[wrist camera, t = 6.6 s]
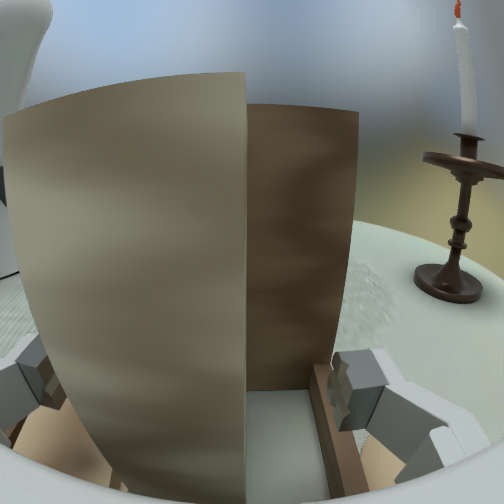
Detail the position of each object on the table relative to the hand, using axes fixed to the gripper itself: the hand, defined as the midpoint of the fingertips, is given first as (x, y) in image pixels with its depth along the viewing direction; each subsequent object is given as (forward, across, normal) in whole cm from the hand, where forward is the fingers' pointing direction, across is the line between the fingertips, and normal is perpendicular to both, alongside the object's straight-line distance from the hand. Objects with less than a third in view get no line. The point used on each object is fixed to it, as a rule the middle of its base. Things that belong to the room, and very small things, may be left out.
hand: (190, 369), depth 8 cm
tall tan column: (+1, 0, -7) cm, 7 cm away
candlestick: (+19, +25, -7) cm, 32 cm away
